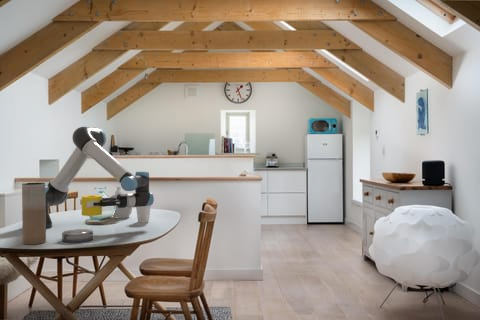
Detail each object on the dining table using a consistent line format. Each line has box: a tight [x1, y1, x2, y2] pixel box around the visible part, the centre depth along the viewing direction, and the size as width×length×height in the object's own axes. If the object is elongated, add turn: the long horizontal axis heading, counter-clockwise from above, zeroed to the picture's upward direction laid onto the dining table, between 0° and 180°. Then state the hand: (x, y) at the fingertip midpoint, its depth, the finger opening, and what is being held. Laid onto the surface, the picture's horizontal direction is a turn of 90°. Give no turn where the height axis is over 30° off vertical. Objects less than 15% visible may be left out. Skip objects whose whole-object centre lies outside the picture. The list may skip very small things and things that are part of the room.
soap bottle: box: [109, 185, 133, 219], centre depth 288 cm, size 16×5×20 cm, turn 89°
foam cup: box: [135, 205, 152, 224], centre depth 271 cm, size 10×9×13 cm
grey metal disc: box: [61, 228, 94, 244], centre depth 218 cm, size 14×14×4 cm
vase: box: [21, 182, 47, 246], centre depth 212 cm, size 10×10×28 cm
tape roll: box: [81, 194, 103, 217], centre depth 235 cm, size 10×10×9 cm
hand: (83, 203), depth 233 cm, fingers closed on tape roll, 10 cm apart
